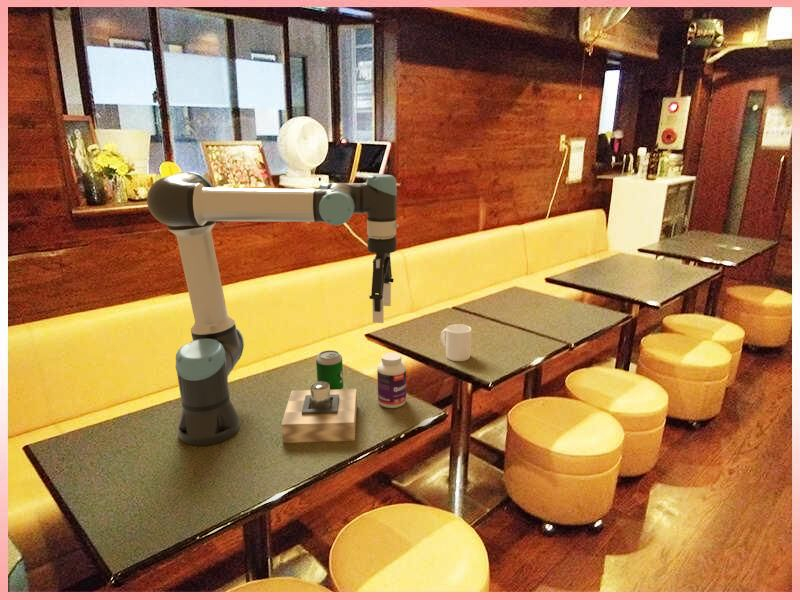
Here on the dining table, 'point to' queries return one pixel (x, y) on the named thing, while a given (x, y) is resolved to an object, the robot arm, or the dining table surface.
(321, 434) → the block
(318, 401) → the peg
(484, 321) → the dining table surface
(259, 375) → the dining table surface
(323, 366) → the soda can
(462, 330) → the mug
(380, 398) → the pill bottle
